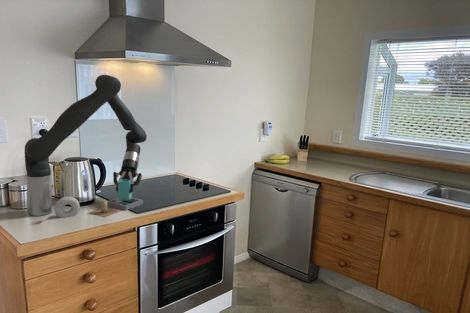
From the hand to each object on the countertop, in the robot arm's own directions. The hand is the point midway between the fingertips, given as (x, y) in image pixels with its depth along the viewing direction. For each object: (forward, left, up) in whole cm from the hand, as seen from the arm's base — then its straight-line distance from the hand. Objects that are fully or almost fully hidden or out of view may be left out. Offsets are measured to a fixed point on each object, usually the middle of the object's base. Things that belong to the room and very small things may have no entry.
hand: (124, 191), depth 166 cm
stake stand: (-1, -11, -8) cm, 14 cm away
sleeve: (-1, +2, -4) cm, 4 cm away
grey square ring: (-1, +2, -8) cm, 9 cm away
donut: (-10, -23, -9) cm, 27 cm away
